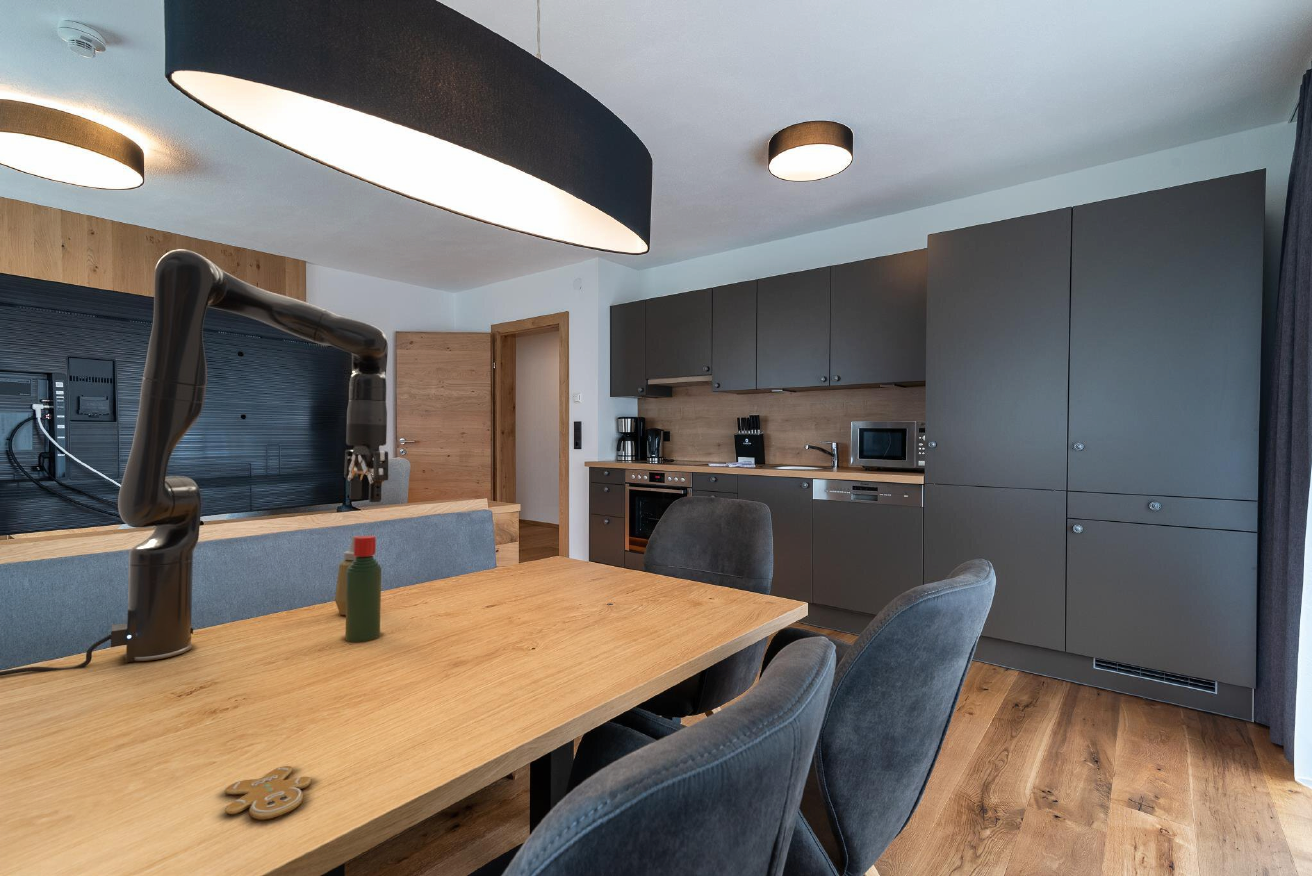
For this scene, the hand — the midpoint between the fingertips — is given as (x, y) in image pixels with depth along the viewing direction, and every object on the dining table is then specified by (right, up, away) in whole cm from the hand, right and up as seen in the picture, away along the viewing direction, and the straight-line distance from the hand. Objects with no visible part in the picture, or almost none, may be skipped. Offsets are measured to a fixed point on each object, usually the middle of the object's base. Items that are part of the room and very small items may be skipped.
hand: (364, 500), depth 121 cm
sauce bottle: (0, -28, -1) cm, 28 cm away
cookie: (+17, -28, -55) cm, 64 cm away
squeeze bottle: (-11, -28, +16) cm, 34 cm away
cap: (0, -11, -1) cm, 11 cm away
